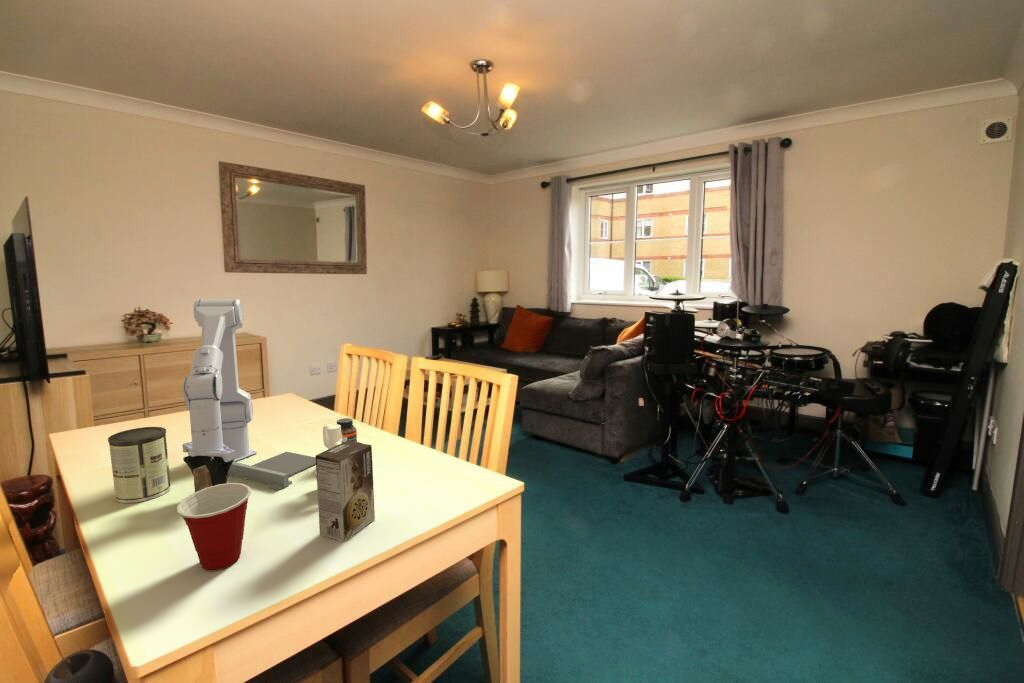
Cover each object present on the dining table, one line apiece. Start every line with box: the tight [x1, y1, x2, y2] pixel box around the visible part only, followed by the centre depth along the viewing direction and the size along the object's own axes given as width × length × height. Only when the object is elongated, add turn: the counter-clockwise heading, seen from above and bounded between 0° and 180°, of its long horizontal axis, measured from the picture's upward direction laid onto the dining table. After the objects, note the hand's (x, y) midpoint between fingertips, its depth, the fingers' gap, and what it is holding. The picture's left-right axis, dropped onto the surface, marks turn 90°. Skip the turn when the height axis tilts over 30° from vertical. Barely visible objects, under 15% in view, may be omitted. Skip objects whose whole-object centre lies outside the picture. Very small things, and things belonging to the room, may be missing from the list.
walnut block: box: [192, 465, 228, 493], centre depth 107 cm, size 4×4×7 cm
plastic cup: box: [176, 482, 252, 572], centre depth 82 cm, size 11×11×12 cm
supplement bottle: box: [336, 417, 358, 443], centre depth 128 cm, size 6×6×11 cm
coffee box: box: [314, 441, 376, 542], centre depth 94 cm, size 9×6×16 cm
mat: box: [251, 451, 316, 479], centre depth 126 cm, size 14×12×1 cm
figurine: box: [314, 423, 342, 476], centre depth 111 cm, size 7×9×15 cm
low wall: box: [227, 461, 293, 491], centre depth 117 cm, size 22×4×3 cm, turn 67°
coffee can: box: [107, 426, 172, 504], centre depth 108 cm, size 10×10×14 cm
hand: (211, 486), depth 107 cm, fingers open, 5 cm apart
